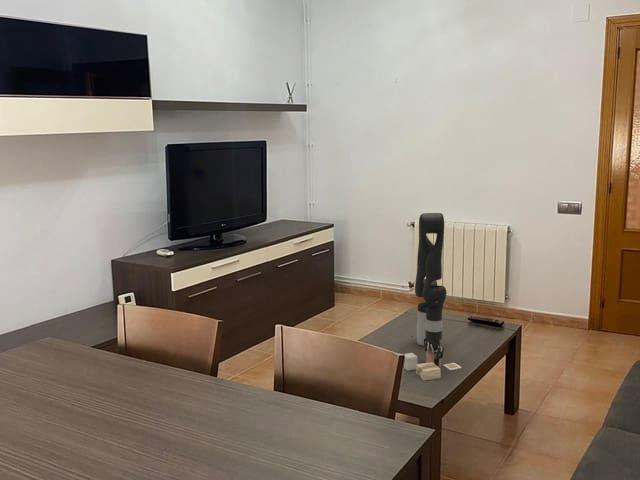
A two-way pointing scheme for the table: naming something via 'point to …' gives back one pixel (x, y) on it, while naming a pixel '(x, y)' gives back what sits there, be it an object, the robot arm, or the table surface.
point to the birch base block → (428, 371)
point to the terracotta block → (431, 358)
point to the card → (452, 366)
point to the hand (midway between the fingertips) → (433, 363)
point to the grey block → (410, 361)
